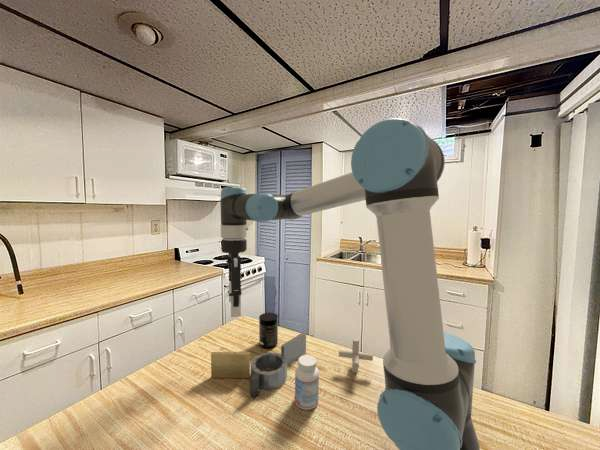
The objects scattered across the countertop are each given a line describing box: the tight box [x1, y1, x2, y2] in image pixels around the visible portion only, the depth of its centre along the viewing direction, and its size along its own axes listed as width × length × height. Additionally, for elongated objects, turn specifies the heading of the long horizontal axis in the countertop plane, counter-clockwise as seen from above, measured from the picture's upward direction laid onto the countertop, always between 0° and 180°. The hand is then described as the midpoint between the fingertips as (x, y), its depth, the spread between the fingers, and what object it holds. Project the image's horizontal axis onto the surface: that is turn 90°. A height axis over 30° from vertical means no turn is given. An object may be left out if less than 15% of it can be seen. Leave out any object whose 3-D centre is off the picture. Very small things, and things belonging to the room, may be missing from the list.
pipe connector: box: [338, 337, 374, 374], centre depth 76 cm, size 10×10×10 cm
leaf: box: [210, 351, 251, 379], centre depth 72 cm, size 1×11×7 cm, turn 91°
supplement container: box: [258, 312, 279, 350], centre depth 90 cm, size 7×7×10 cm
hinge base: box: [249, 331, 307, 400], centre depth 76 cm, size 10×25×7 cm, turn 140°
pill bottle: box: [294, 354, 320, 411], centre depth 64 cm, size 6×6×11 cm
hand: (234, 308), depth 77 cm, fingers open, 11 cm apart
